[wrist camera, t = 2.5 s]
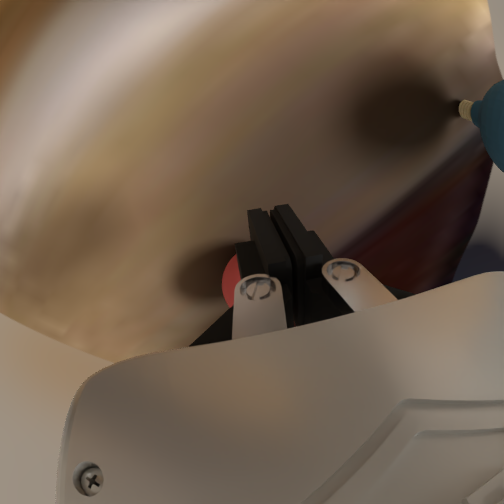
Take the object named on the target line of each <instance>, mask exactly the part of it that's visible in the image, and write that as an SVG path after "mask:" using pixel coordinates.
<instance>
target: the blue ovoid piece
mask: <svg viewBox="0 0 504 504" xmlns="http://www.w3.org/2000/svg"><path fill="white" fill-rule="evenodd" d="M459 113H460V115H461V117H462V118H465V119H468V120H470V121H473V123H474V125H476V126H477V127H479V128H480V132H481V137H482V140H483V143H484V145H485V148H486V150H487V152H488V154H489V155H490V157H491V159H492V160H493V162H494V163H495V164H496V165H497V166H498V168H499V169H500V170H501V171H502V172H504V80H502V81H500V82H498V83H496V84H494V85H493V86H492V87H491V88H490V89H489V90H488V91H487V93H486V94H485V96H484V98H483V101H475V102H470V101H467V100H463V101H462V102H461V103H460V105H459Z"/></svg>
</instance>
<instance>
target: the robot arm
mask: <svg viewBox="0 0 504 504" xmlns="http://www.w3.org/2000/svg"><path fill="white" fill-rule="evenodd" d="M247 214H248V222H249V230H250V238H251V241H248V242H242V243H237V244H235V250H236V256H237V262H238V268H239V273H240V278H241V280H240V281H239V282H238V283H237V285H236V287H235V291H234V305H233V306H232V307H231V308H230V309H228V310H227V311H226V312H225V313H224V314H223V315H222V316H221V317H220V318H219V319H218V320H217V321H216V322H215V323H214V324H212V325H211V326H210V327H209V328H208V329H207V330H206V331H205V332H204V333H203V334H202V335H201V336H200V337H198V338H197V339H196V340H195V341H194V342H193V343H192V344H191V345H190V346H189V347H185V348H179V349H173V350H167V351H161V352H154V353H149V354H145V355H140V356H136V357H132V358H129V359H126V360H123V361H119V362H117V363H115V364H112V365H110V366H108V367H105V368H103V369H101V370H99V371H98V372H96V373H95V374H93V375H91V376H90V377H88V378H87V379H86V380H85V381H84V382H83V383H82V385H81V386H80V388H79V389H78V390H77V392H76V394H75V396H74V398H73V400H72V402H71V405H70V408H69V411H68V414H67V418H66V422H65V426H64V430H63V435H62V440H61V446H60V452H59V459H58V469H57V482H56V504H504V272H487V273H483V274H479V275H475V276H472V277H469V278H466V279H462V280H459V281H456V282H453V283H450V284H447V285H444V286H441V287H438V288H435V289H432V290H429V291H426V292H423V293H420V294H417V295H416V294H413V293H410V292H406V291H403V290H399V289H396V288H393V287H389V286H386V285H382V284H381V283H380V282H379V281H378V280H377V279H376V278H375V277H374V276H373V275H372V274H371V273H369V272H368V271H367V270H366V269H365V268H364V267H363V266H362V265H361V264H359V263H358V262H356V261H354V260H351V259H345V258H338V259H334V258H333V257H332V255H331V254H330V252H329V251H328V250H327V248H326V247H325V245H324V244H323V243H322V241H321V240H320V238H319V237H318V236H317V234H316V233H315V232H314V231H307V230H306V229H305V227H304V226H303V224H302V223H301V222H300V220H299V219H298V217H297V216H296V214H295V213H294V212H293V210H292V209H291V207H290V206H289V205H288V204H285V205H278V206H275V207H274V210H270V217H269V215H268V213H267V211H262V210H261V208H259V209H253V210H247ZM294 321H295V324H296V326H297V327H294Z"/></svg>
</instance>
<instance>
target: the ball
mask: <svg viewBox="0 0 504 504" xmlns="http://www.w3.org/2000/svg"><path fill="white" fill-rule="evenodd" d="M240 280H241V278H240V273H239V268H238V262H237V256H236V254H235V255H234V256H233V257H232V258H231V260H230V261H229V262H228V264H227V266H226V268H225V270H224V273H223V278H222V291H223V295H224V298H225V300H226V302H227V304H228V306H229V307H230V308H231V307H232V306H233V305H234V291H235V287H236V285H237V283H238V282H239V281H240Z"/></svg>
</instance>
